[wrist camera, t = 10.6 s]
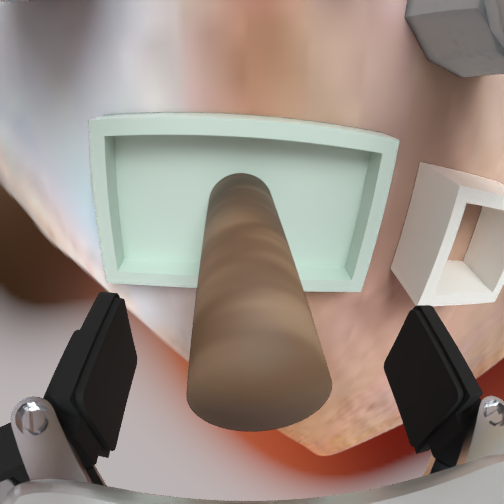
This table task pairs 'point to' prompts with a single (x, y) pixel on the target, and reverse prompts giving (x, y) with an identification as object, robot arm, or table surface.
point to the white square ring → (451, 239)
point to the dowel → (252, 318)
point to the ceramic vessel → (14, 0)
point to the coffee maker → (460, 34)
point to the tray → (226, 163)
